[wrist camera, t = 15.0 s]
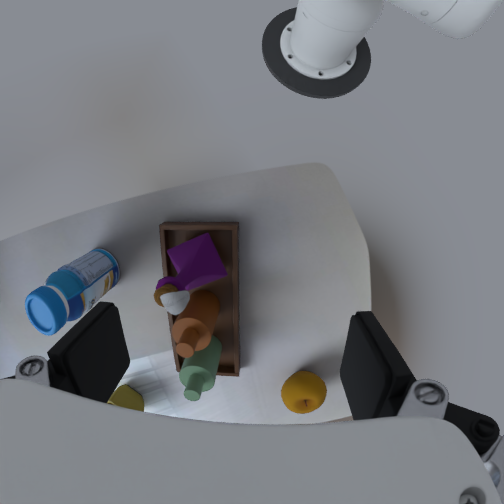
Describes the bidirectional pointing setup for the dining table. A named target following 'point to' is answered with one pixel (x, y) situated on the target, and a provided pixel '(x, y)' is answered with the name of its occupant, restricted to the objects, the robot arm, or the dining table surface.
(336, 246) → the dining table surface
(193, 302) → the amber bottle
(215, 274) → the perfume bottle
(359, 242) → the dining table surface
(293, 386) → the apple
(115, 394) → the flower pot
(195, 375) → the green bottle
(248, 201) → the dining table surface
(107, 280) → the beverage bottle
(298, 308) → the dining table surface
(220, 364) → the tray
